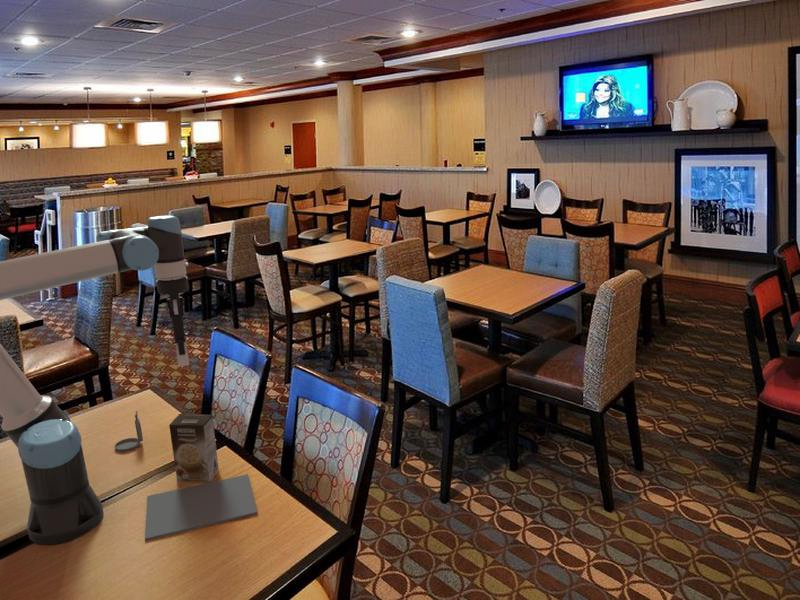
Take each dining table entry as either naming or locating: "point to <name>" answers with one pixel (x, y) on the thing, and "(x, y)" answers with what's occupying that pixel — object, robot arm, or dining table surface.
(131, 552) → the dining table surface
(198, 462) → the coffee box
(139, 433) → the pocket watch
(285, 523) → the dining table surface
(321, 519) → the dining table surface
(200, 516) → the mat
